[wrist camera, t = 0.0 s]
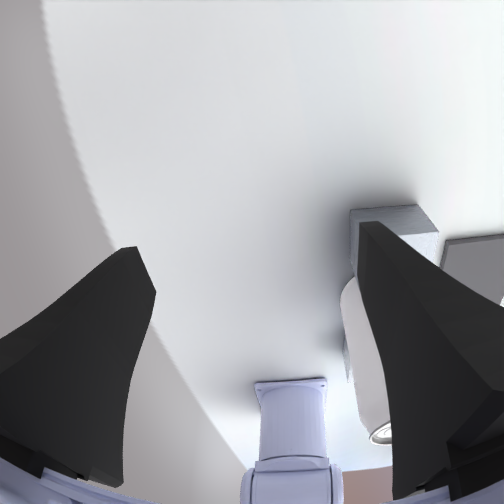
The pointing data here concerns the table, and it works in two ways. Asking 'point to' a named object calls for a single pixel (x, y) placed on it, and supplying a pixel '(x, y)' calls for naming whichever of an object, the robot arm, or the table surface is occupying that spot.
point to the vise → (402, 224)
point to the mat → (477, 264)
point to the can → (365, 366)
